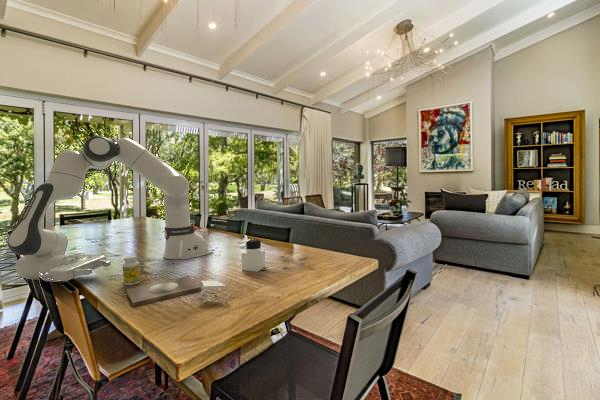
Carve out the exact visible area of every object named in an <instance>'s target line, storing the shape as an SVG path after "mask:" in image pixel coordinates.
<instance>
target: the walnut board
mask: <svg viewBox="0 0 600 400" xmlns="http://www.w3.org/2000/svg"><path fill="white" fill-rule="evenodd" d="M125 291H126V295H127V297H128V298H129V300H130V303H131V304H132V307H138V306H142V305H145V304H146V305H147V304H150V303H154V302H158V301H164V300H167V299H171V298H175V297H179V296H184V295H188V294H192V293H196V292H201V291H202V287H201V286H200V285H199V284H198V283H197V282H196V281H195V280H193V279H192V278H191V277H190V276H188V275H187V276H180V277H178V278H177V277H176V278H171V279H167V280H162V281H158V282H153V283H147V284H143V285H139V286H133V287H129V288H126V289H125Z"/></svg>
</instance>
